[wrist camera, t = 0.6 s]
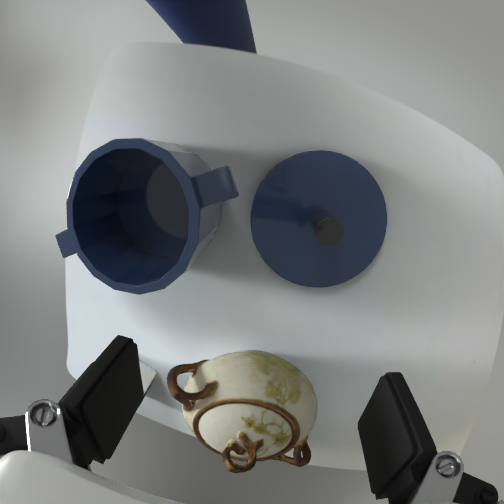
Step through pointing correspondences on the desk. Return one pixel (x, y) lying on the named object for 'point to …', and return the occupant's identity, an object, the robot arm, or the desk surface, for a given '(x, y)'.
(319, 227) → the lid
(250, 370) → the sugar bowl
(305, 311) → the desk surface
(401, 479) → the robot arm
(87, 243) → the pot
